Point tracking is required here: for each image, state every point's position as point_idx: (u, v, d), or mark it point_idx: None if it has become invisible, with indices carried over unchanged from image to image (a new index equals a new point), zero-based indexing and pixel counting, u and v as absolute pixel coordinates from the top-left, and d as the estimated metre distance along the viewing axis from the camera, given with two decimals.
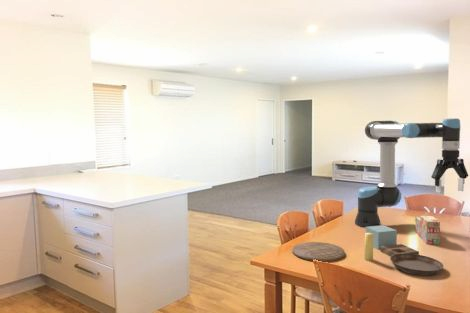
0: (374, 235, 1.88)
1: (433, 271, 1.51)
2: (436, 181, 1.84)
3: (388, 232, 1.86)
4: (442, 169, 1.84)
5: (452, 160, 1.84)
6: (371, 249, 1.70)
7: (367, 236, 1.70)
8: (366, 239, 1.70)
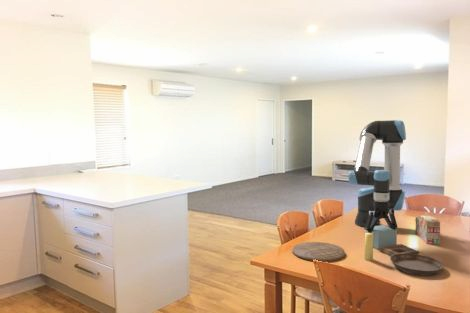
0: (374, 235, 1.88)
1: (433, 271, 1.51)
2: None
3: (388, 232, 1.86)
4: (373, 220, 1.89)
5: (382, 211, 1.89)
6: (371, 249, 1.70)
7: (367, 236, 1.70)
8: (366, 239, 1.70)
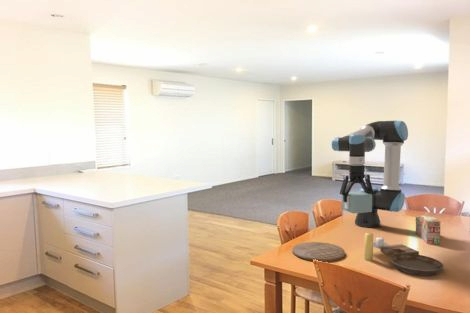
0: (349, 199, 1.86)
1: (433, 271, 1.51)
2: (344, 197, 1.87)
3: (363, 196, 1.84)
4: (349, 185, 1.87)
5: (358, 175, 1.87)
6: (371, 249, 1.70)
7: (367, 236, 1.70)
8: (366, 239, 1.70)
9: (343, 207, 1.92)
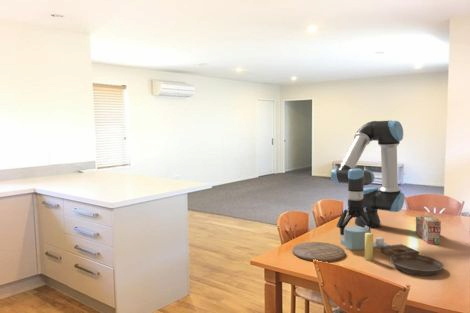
0: (348, 236, 1.87)
1: (433, 271, 1.51)
2: (341, 230, 1.88)
3: (362, 233, 1.86)
4: (347, 218, 1.89)
5: (357, 209, 1.89)
6: (371, 249, 1.70)
7: (367, 236, 1.70)
8: (366, 239, 1.70)
9: (342, 242, 1.93)
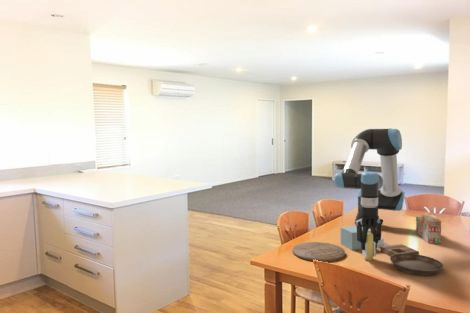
0: (348, 236, 1.87)
1: (433, 271, 1.51)
2: (362, 245, 1.70)
3: None
4: (364, 230, 1.70)
5: (371, 218, 1.69)
6: (371, 249, 1.70)
7: (367, 236, 1.70)
8: (366, 239, 1.70)
9: (342, 242, 1.93)
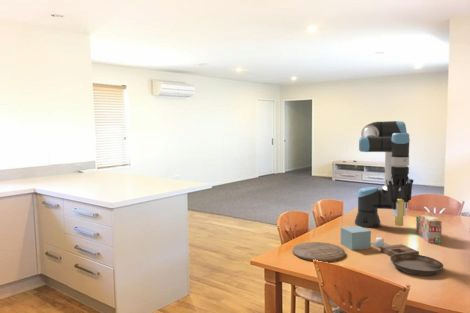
0: (348, 236, 1.87)
1: (433, 271, 1.51)
2: (393, 204, 1.73)
3: (362, 233, 1.86)
4: (395, 190, 1.72)
5: (401, 177, 1.72)
6: (402, 214, 1.72)
7: (398, 202, 1.72)
8: None
9: (342, 242, 1.93)
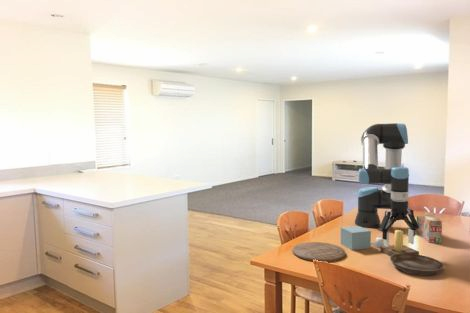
0: (348, 236, 1.87)
1: (433, 271, 1.51)
2: (383, 234, 1.73)
3: (362, 233, 1.86)
4: (390, 221, 1.73)
5: (401, 212, 1.73)
6: (401, 246, 1.74)
7: (397, 233, 1.73)
8: (396, 236, 1.74)
9: (342, 242, 1.93)
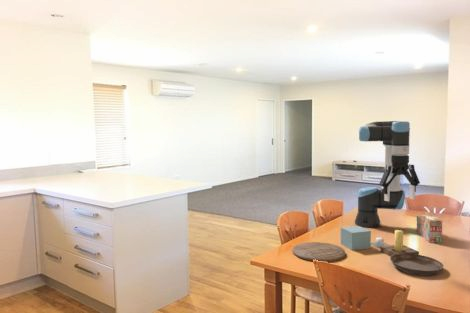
0: (348, 236, 1.87)
1: (433, 271, 1.51)
2: (384, 189, 1.71)
3: (362, 233, 1.86)
4: (391, 176, 1.71)
5: (401, 166, 1.71)
6: (401, 246, 1.74)
7: (397, 233, 1.73)
8: (396, 236, 1.74)
9: (342, 242, 1.93)
